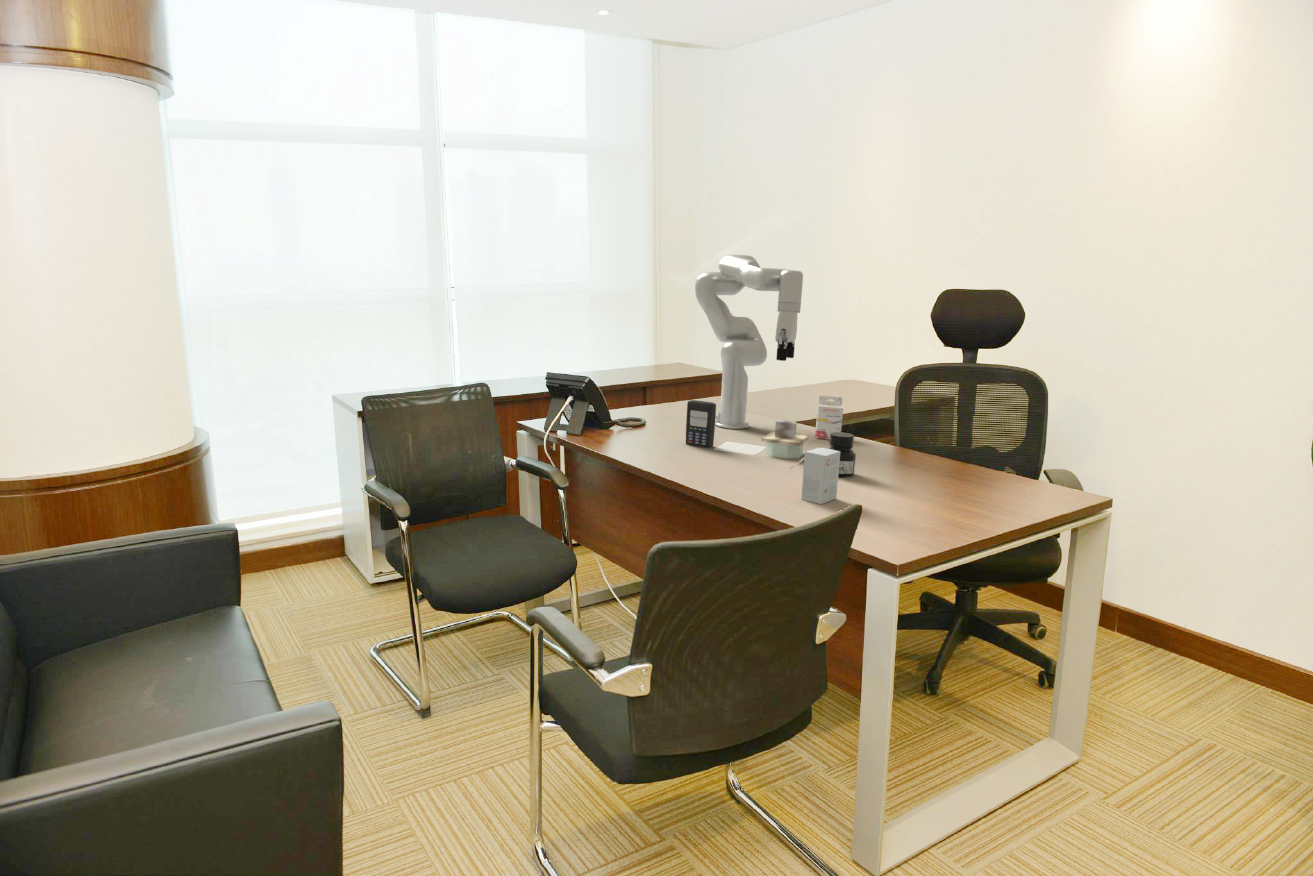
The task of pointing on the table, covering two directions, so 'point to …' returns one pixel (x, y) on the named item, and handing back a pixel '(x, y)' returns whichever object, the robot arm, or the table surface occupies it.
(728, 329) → the robot arm
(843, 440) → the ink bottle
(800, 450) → the bowl
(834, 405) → the ink cartridge box
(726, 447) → the mat
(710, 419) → the card reader
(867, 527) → the table surface
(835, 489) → the small box
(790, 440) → the lid
